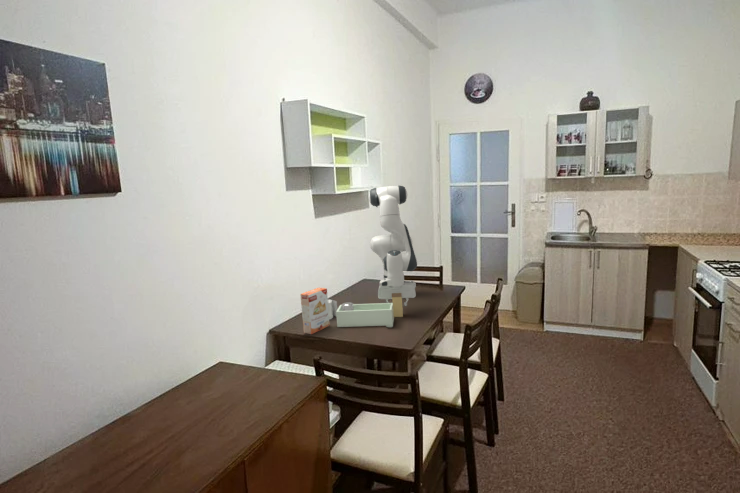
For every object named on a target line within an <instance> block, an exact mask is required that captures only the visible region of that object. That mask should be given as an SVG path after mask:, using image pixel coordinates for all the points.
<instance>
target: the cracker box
mask: <svg viewBox="0 0 740 493" xmlns="http://www.w3.org/2000/svg"><path fill="white" fill-rule="evenodd" d="M300 304H301V315H302V317H301V318H302V328H303V335H305V334H308V335H309V334H310V335H313V334H316V333H317V332H320V331H322V330H323V329H326V328H327V327H328V328H329V327H330V320H329V311H328V288H325V287H317V288H314V289H311V290H308V291H305V292H303V293H300Z"/></svg>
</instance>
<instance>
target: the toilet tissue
mask: <svg viewBox="0 0 740 493" xmlns="http://www.w3.org/2000/svg"><path fill="white" fill-rule="evenodd" d="M337 309H338V301H337V300H334V299H328V311H329V321H330V320H332V319H333V318H334V317H336V311H337Z"/></svg>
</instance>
